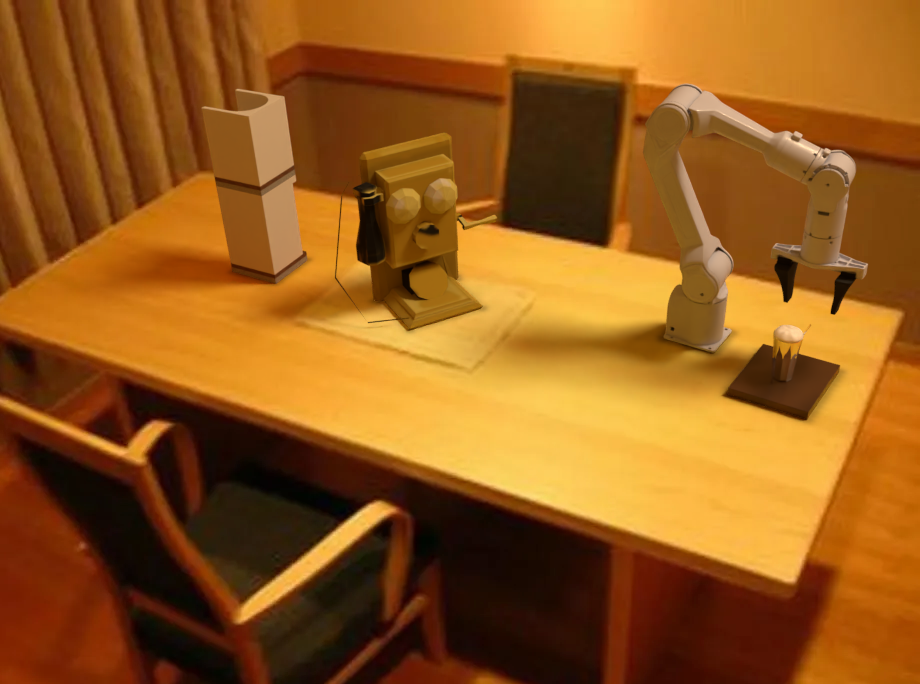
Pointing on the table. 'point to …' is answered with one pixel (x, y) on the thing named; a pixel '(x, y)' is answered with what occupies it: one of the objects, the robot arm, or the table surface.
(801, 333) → the milkshake
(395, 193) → the vintage telephone
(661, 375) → the table surface
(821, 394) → the board
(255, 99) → the scooped banded pillar
